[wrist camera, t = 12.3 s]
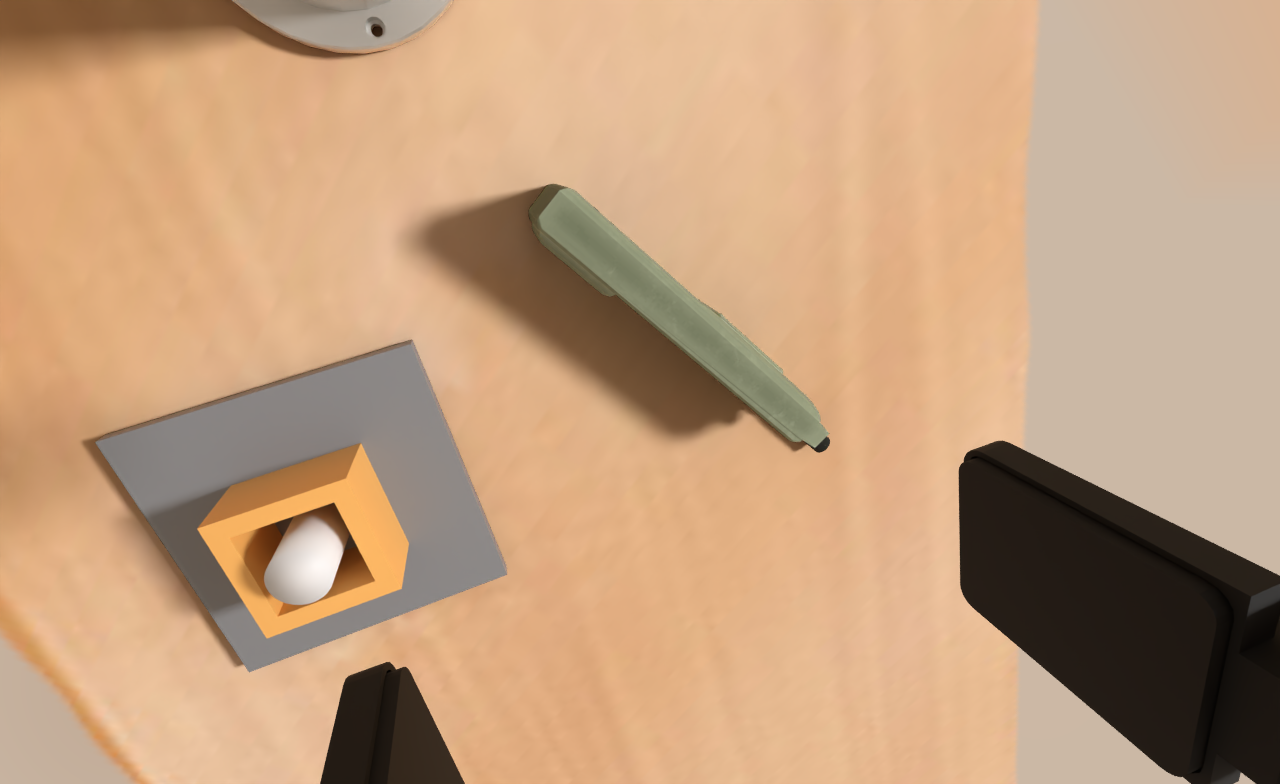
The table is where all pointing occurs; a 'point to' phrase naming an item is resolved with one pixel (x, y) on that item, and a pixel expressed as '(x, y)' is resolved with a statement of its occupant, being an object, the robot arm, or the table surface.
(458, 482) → the plate
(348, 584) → the orange open box
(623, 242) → the handheld radio
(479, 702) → the table surface
